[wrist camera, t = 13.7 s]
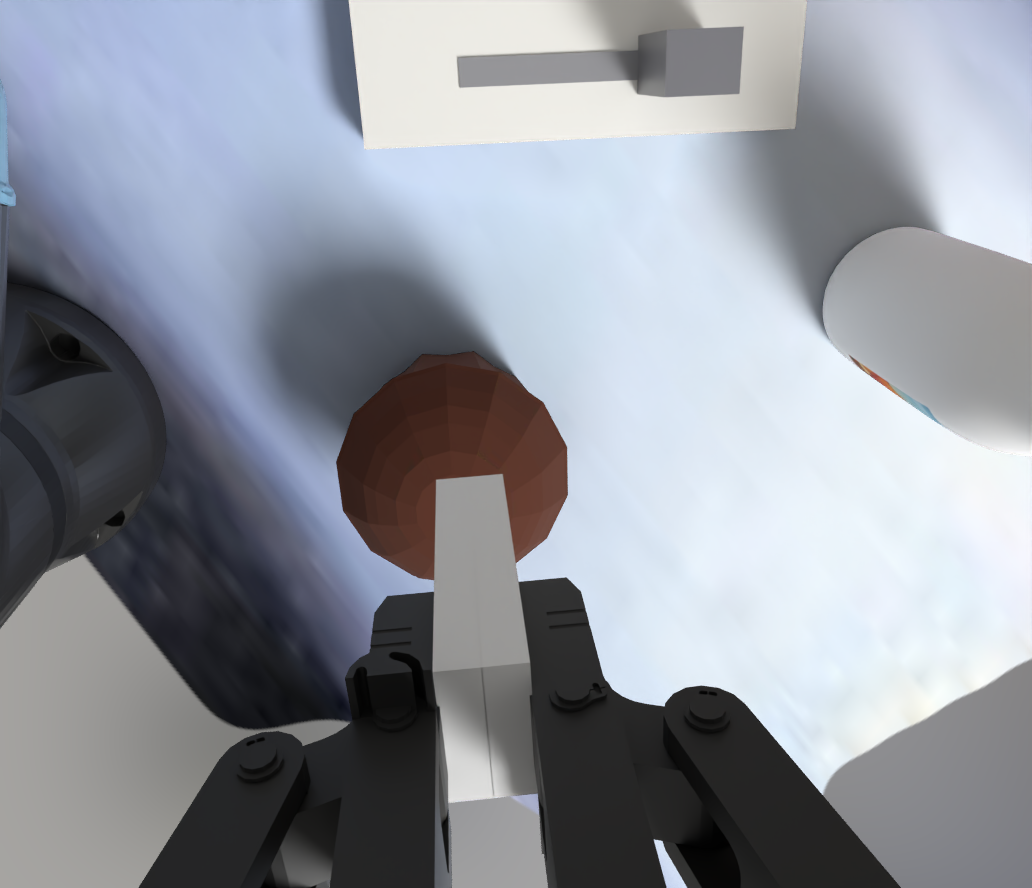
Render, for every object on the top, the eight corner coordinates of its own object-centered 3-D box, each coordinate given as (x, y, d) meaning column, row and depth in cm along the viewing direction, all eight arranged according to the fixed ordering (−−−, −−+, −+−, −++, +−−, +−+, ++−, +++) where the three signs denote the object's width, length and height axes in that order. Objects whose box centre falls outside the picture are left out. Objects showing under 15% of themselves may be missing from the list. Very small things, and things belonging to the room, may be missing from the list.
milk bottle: (788, 307, 45) (1019, 466, 27) (897, 192, 43) (1229, 281, 25) (877, 390, 47) (1145, 588, 29) (985, 286, 45) (1345, 429, 27)
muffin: (340, 329, 44) (311, 396, 35) (549, 317, 44) (575, 380, 35) (365, 525, 49) (346, 630, 39) (554, 512, 49) (578, 612, 40)
